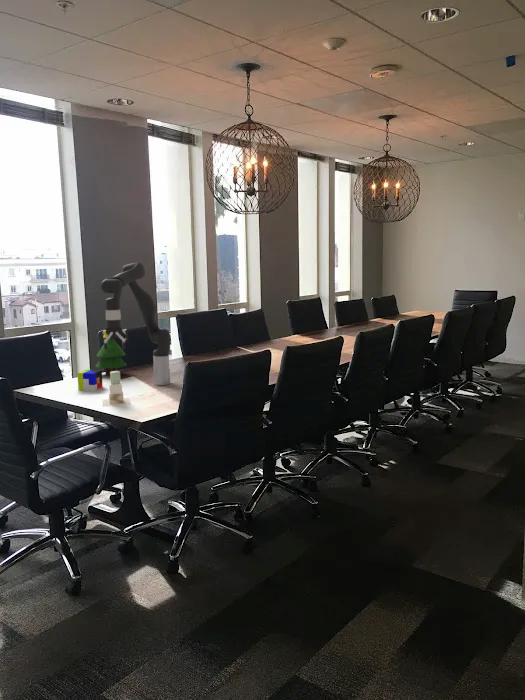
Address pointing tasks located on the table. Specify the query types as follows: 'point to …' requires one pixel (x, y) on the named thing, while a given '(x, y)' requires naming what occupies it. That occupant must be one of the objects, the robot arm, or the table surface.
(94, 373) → the puzzle toy
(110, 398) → the tower base
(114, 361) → the decorative tree
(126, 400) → the felt mat
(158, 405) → the table surface
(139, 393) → the table surface
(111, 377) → the pale green block
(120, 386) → the tower mid
